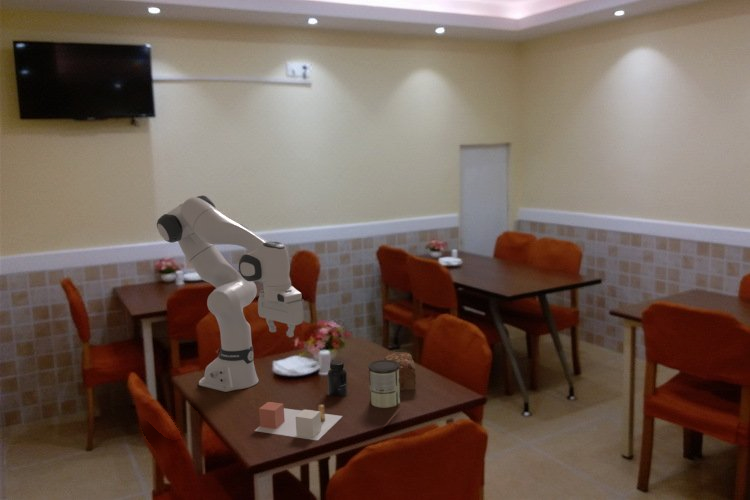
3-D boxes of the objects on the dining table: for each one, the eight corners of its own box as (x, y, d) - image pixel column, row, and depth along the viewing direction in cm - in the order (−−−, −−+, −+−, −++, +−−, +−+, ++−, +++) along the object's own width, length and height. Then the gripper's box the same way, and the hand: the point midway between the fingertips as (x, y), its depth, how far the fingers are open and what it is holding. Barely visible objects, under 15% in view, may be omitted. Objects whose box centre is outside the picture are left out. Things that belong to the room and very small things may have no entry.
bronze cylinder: (317, 421, 208) (316, 406, 207) (320, 418, 210) (319, 404, 209) (323, 422, 207) (322, 407, 206) (326, 419, 209) (325, 404, 208)
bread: (416, 391, 233) (416, 364, 231) (387, 392, 232) (386, 365, 231) (412, 372, 251) (411, 347, 249) (384, 374, 251) (383, 349, 249)
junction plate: (254, 433, 203) (254, 430, 203) (283, 410, 219) (283, 408, 219) (317, 443, 195) (317, 440, 195) (342, 419, 211) (342, 416, 211)
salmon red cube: (260, 426, 206) (259, 408, 204) (269, 419, 211) (268, 401, 210) (275, 428, 203) (274, 410, 202) (284, 421, 209) (283, 403, 208)
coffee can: (365, 401, 225) (364, 362, 222) (393, 396, 228) (392, 357, 226) (376, 412, 215) (375, 372, 213) (405, 407, 219) (404, 367, 216)
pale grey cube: (296, 435, 199) (295, 416, 198) (305, 427, 204) (304, 409, 203) (313, 437, 196) (312, 418, 195) (321, 429, 202) (320, 411, 201)
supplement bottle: (345, 399, 227) (343, 366, 225) (326, 398, 229) (324, 365, 227) (349, 391, 234) (348, 359, 232) (331, 390, 235) (329, 359, 233)
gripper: (251, 290, 214) (255, 331, 217) (288, 298, 200) (292, 341, 202) (267, 286, 219) (270, 326, 221) (305, 294, 204) (308, 337, 206)
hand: (281, 334), depth 211 cm, fingers open, 8 cm apart
